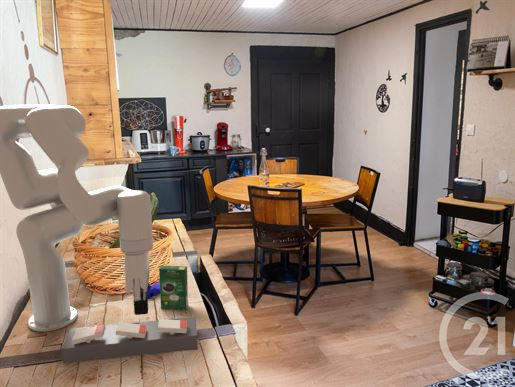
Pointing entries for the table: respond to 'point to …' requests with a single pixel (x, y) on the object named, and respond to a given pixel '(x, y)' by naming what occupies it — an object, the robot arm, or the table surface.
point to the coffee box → (173, 287)
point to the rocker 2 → (131, 330)
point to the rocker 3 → (172, 326)
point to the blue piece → (153, 290)
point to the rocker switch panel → (130, 343)
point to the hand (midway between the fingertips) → (141, 312)
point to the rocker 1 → (89, 334)
